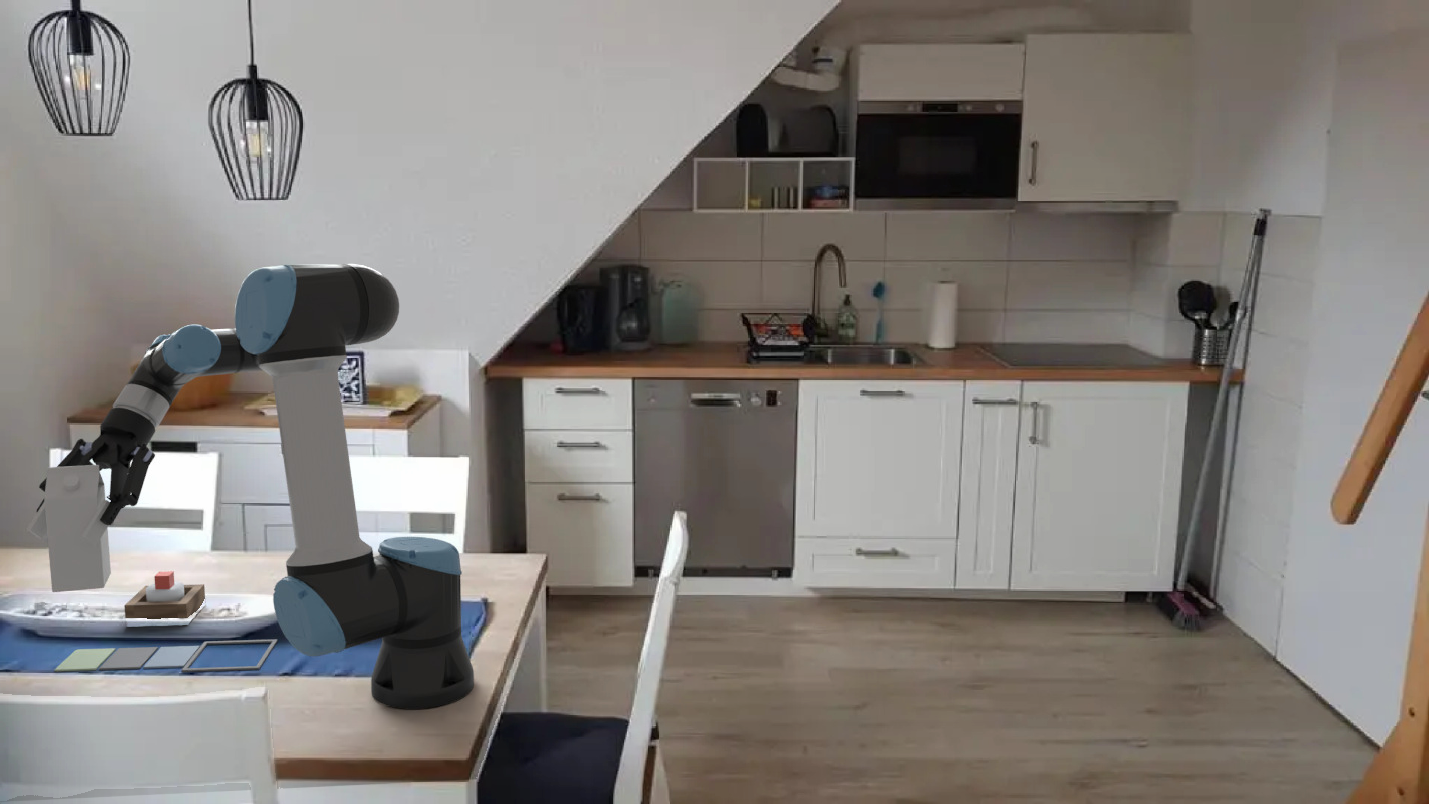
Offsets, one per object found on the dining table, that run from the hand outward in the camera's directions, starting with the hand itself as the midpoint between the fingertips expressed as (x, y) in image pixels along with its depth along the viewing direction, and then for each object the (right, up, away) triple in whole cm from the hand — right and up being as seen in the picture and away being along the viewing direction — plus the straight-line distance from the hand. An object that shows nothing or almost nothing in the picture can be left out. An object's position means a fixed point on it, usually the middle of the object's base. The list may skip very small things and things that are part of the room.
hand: (61, 537), depth 171 cm
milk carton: (+1, -8, +4) cm, 9 cm away
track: (+13, -20, +8) cm, 25 cm away
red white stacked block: (+4, -16, +25) cm, 30 cm away
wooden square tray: (+4, -17, +26) cm, 31 cm away
